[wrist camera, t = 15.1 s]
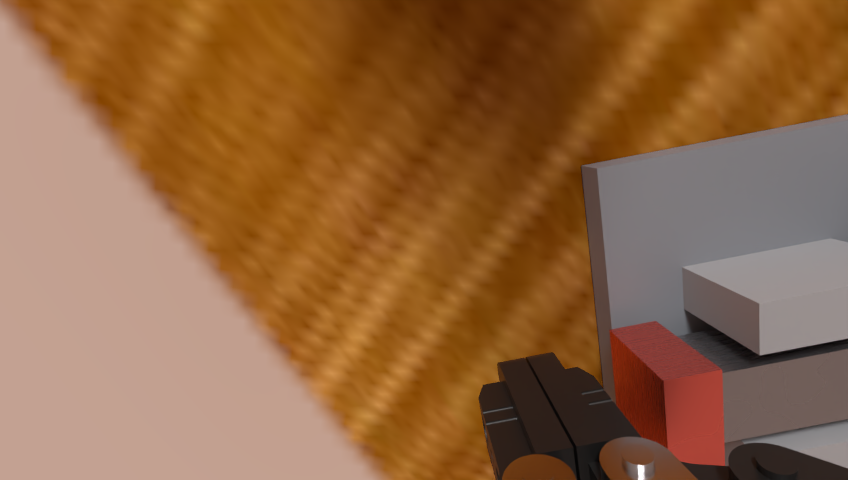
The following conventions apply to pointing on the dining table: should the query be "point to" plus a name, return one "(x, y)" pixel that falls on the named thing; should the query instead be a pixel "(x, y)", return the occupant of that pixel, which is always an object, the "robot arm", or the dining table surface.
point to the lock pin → (722, 388)
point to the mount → (729, 248)
